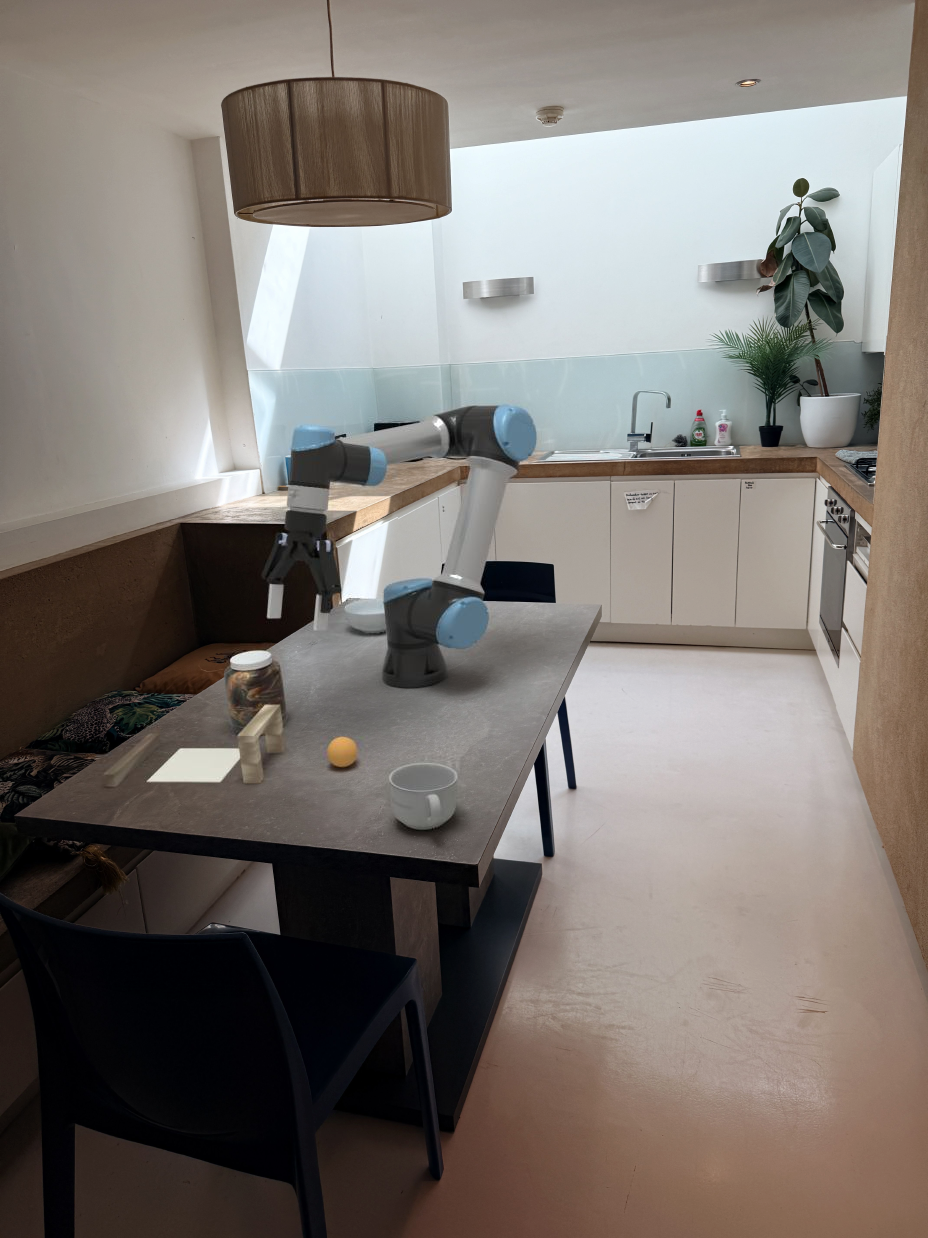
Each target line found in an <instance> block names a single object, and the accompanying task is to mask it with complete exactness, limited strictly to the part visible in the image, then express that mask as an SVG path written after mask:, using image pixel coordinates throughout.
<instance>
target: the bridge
mask: <svg viewBox="0 0 928 1238" xmlns="http://www.w3.org/2000/svg"><path fill="white" fill-rule="evenodd" d="M263 731H265V735H264V737H265V739H264V740H265V745H266V752H267V754H283V753H284V752H285V750H286V741H285V732H284V727H283V723H282V715H281V707H280V705H265V706H264V707H263V708H262V709H261V710H260V711H259V712H258V713H257V714H256V716H255V717H254V718H253V719H252V720H251V721H250V722H249V723H248V724H247V726H246V727H245V728H244V729H243V730H242V731H241V732H240V733H239V734H238V735H236V736H237V738H236V739H237V743H238V745H237V746H238V748H239V752H240V760H239V761H240V765H241V773H242V774H241V775H242V779H243V781H242V782H243V784H261V782H262V781H263V780H264V776H265V775H264V772H263V771H264V770H263V762H262V755H261V747H260V740H259V737H260V736H262V735H261V734H262V733H263Z"/></svg>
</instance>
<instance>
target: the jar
mask: <svg viewBox="0 0 928 1238" xmlns="http://www.w3.org/2000/svg"><path fill="white" fill-rule="evenodd" d="M229 661H230V665H229V666H228V667H226V668H225V670H224V672H223V676H224V677H223V678H224V688H225V689H224V690H225V696H226V702H227V710H228V718H229V723H230V724H229V725H230V729H231V732H232V733H233V734H235V735H236V736H238V734H239V733H240V732H241V731H242V730H243V729H244V728H245V727H246V726H247V724H248V723H249V722H250V721H251V720H252V719H253V718H254V717H255V716H256V714H257V713H258V712H259V711H260V710H261V709H262V708H263V707H264V706H265V705H280V707H281V715H282V723H283V728H284V727H285V726H286V725H287V724H288V711H287V703H286V697H285V688H284V682H283V675H282V674H283V673H282V667H281V665H280V664H281V663H279V661H278V660H276V659H272V653H271V652H270V651H267V650H249V651H243V652H241V653H237V654H236V655H234V656H232V657H231V658H230V660H229ZM260 736H265V731H263V733H262V734H261V735H260Z"/></svg>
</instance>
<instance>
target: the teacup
mask: <svg viewBox="0 0 928 1238" xmlns="http://www.w3.org/2000/svg"><path fill="white" fill-rule="evenodd" d="M458 779H459V777H458V773H457V771H456V770H454V768H452V767H450V766H447V765H444V764H441V763H435V762H416V763H415V762H414V763H410V764H409V763H408V764H406V765H402V766H399V767H397V768H396V769H394V770H393V771H391V773H390V774H389V776H388V782H389V794H390V795H389V796H390V807H391V810H392V813H393V816H394V817H395V819H397V820H398V821H399V822H401V823H403V824H404V825H405V826H406V827H408V828H411V829H414V830H420V831H421V830H422V831H423V830H424V831H425V830H432V828H433V829H436V828H438V827H440V826H442V825H444V824H445V823H446V822H447V821H448V820H449V819H451V817H452V816H453V815H454V813H455V811H456V808H457V802H458V801H457V799H458V798H457V797H458ZM435 827H436V828H435Z"/></svg>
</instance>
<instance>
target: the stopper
mask: <svg viewBox="0 0 928 1238" xmlns="http://www.w3.org/2000/svg"><path fill="white" fill-rule="evenodd" d="M161 745H162V743H161V738H160V733H148V734H147V735H146V736H145V737H144V738H142V740H140V741H139V742H138V743H137V744H135V746H134V747H133V748H131V749H130V750H129V751H128V752H127V753H125V755H124V756H122V757H120V759H119V760H118V761H117V762H115V763H114V764H113V765H112V766H111V767H110V768H108V770H106V771H105V772H104V773H102V777H103V781H104V787H105V788H116V787H117V786H119V785H120V784H121V783H122V782H123V781H124V780H126V779H127V777H129V775H130V774H131V773H133V772H134V771H135V770H136V769H137V768H138V767H139V766H140V765H141V764H142V763H144V762H145V760H147V759H148V758H149V757H150V756H151V755H152V754H153V753H154V752H155V751H156V750H157V749H158V748H159V747H161Z"/></svg>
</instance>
